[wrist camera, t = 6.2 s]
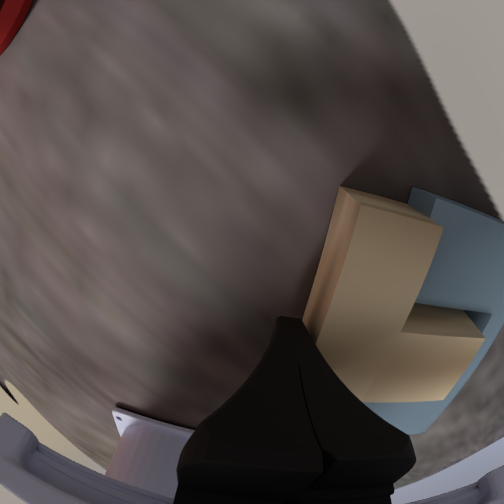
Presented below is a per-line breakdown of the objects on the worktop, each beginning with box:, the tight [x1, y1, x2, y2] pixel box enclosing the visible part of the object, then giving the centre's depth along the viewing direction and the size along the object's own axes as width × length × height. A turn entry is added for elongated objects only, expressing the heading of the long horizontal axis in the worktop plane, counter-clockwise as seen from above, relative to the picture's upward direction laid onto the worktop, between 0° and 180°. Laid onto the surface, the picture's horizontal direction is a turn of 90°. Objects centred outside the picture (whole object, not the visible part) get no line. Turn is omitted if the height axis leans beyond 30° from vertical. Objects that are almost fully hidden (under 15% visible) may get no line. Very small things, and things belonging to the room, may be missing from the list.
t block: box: [302, 186, 486, 402], centre depth 11 cm, size 12×8×3 cm, turn 170°
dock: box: [363, 187, 504, 435], centre depth 12 cm, size 13×7×2 cm, turn 170°
